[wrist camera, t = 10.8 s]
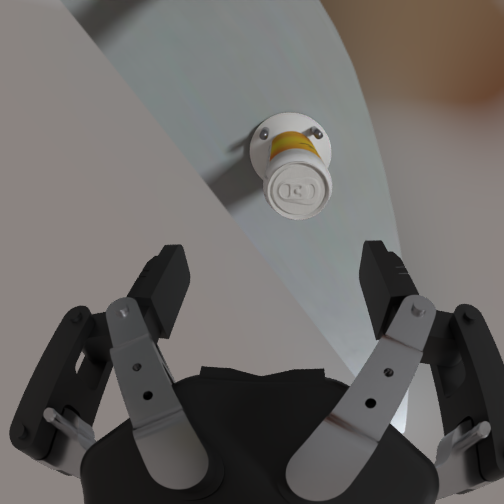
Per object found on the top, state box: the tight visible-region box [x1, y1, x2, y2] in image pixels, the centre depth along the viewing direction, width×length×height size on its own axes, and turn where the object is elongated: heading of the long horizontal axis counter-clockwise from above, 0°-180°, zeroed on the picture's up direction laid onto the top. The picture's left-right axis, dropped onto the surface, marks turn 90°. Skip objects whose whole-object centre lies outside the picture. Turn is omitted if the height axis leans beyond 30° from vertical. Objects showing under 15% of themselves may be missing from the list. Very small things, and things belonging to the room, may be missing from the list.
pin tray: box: [250, 112, 331, 181], centre depth 34 cm, size 11×11×6 cm
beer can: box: [263, 131, 332, 220], centre depth 29 cm, size 6×6×15 cm
